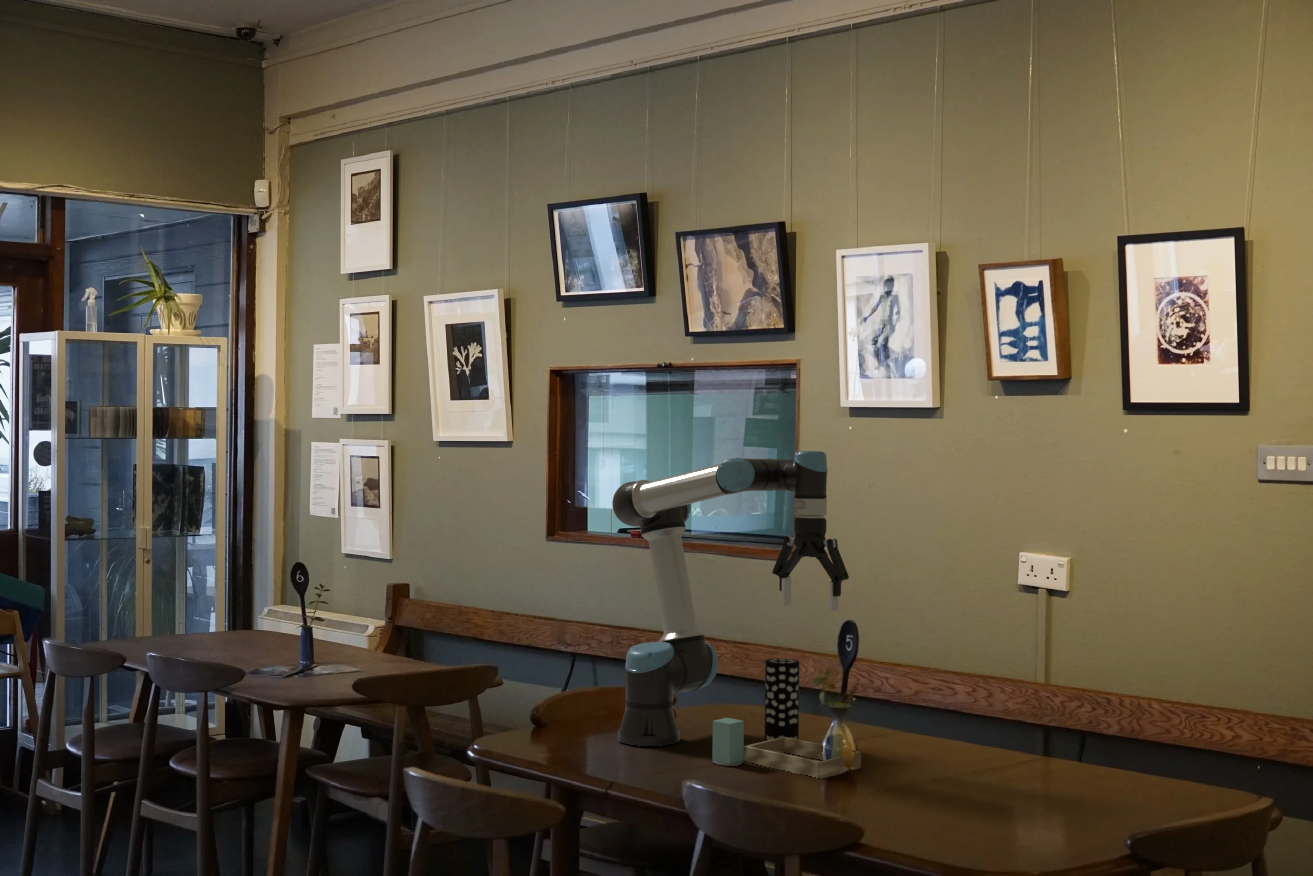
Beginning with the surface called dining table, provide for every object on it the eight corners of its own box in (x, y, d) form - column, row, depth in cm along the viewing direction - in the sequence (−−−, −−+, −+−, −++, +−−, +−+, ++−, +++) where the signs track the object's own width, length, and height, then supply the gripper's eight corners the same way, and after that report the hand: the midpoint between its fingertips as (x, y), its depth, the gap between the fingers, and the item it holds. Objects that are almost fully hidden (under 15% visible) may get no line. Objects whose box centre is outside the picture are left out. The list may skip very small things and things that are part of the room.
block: (712, 760, 284) (712, 720, 284) (726, 757, 287) (726, 717, 287) (729, 764, 280) (729, 724, 280) (743, 760, 284) (743, 721, 284)
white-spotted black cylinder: (798, 740, 309) (799, 659, 310) (798, 747, 301) (799, 664, 301) (764, 738, 310) (765, 658, 310) (764, 746, 302) (765, 663, 302)
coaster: (706, 763, 284) (706, 760, 284) (726, 758, 289) (726, 755, 289) (729, 768, 279) (730, 765, 279) (749, 763, 284) (749, 760, 284)
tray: (743, 761, 285) (743, 746, 285) (783, 751, 296) (783, 736, 296) (821, 779, 270) (821, 763, 270) (860, 767, 281) (861, 752, 281)
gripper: (758, 515, 297) (757, 604, 297) (845, 519, 280) (844, 614, 279) (778, 514, 303) (777, 602, 302) (864, 518, 285) (863, 611, 285)
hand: (809, 608), depth 291 cm, fingers open, 13 cm apart
